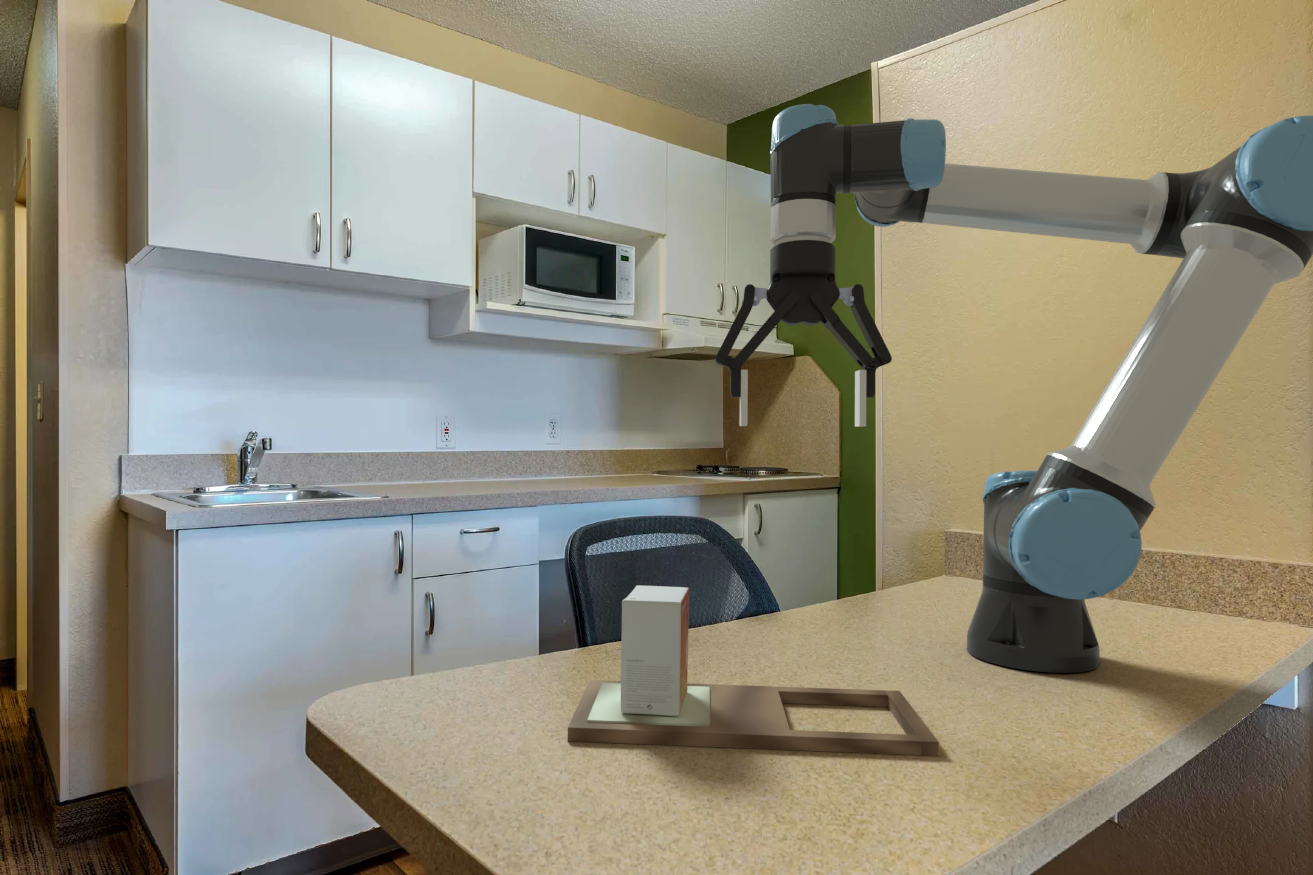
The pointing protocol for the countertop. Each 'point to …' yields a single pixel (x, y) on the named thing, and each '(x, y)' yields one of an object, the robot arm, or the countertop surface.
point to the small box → (654, 650)
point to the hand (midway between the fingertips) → (801, 426)
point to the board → (746, 720)
